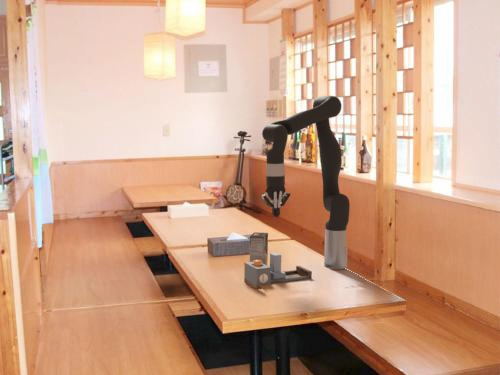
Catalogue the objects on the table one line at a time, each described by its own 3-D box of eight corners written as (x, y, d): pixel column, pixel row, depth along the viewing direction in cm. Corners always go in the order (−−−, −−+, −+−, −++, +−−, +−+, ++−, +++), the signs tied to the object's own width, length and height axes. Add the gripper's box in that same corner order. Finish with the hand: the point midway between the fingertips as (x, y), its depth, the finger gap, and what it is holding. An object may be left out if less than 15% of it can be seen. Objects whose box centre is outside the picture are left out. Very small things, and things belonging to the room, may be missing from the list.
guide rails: (295, 272, 269) (295, 270, 269) (308, 279, 260) (308, 276, 260) (258, 277, 262) (258, 274, 262) (270, 283, 252) (270, 280, 252)
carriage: (276, 275, 264) (276, 251, 263) (285, 280, 257) (286, 255, 255) (265, 276, 262) (265, 252, 260) (274, 281, 254) (274, 256, 253)
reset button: (259, 266, 257) (259, 259, 257) (262, 268, 254) (262, 261, 254) (251, 267, 256) (252, 260, 255) (255, 269, 253) (255, 262, 253)
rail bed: (298, 275, 270) (298, 265, 270) (312, 282, 260) (312, 271, 260) (244, 282, 260) (244, 271, 259) (256, 289, 250) (256, 277, 249)
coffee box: (253, 268, 282) (253, 231, 280) (267, 268, 281) (268, 232, 279) (249, 273, 273) (249, 235, 271) (263, 274, 272) (264, 236, 270)
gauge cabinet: (257, 276, 262) (258, 261, 261) (270, 284, 252) (271, 267, 251) (244, 278, 259) (244, 262, 259) (256, 285, 249) (257, 269, 248)
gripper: (285, 172, 266) (285, 213, 268) (256, 174, 260) (257, 217, 263) (294, 174, 259) (294, 216, 262) (265, 176, 254) (266, 219, 256)
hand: (276, 216), depth 262 cm, fingers closed
